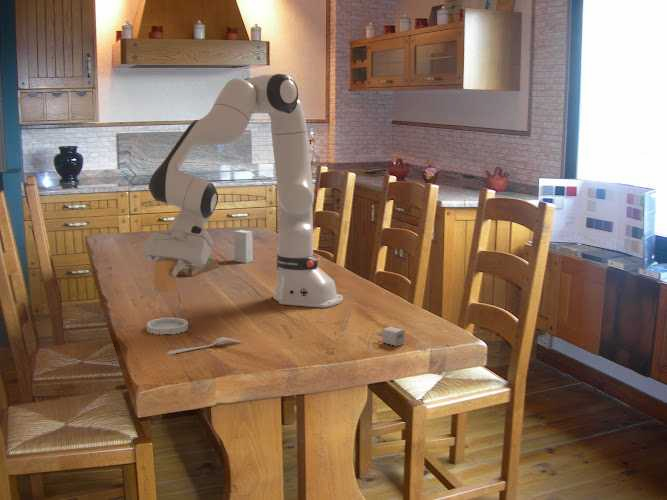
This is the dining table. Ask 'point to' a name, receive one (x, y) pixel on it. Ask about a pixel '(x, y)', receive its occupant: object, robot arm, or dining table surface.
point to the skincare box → (243, 246)
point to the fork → (202, 346)
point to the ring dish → (167, 326)
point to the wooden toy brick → (164, 276)
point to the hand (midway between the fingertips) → (163, 274)
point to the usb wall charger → (392, 336)
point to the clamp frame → (199, 268)
